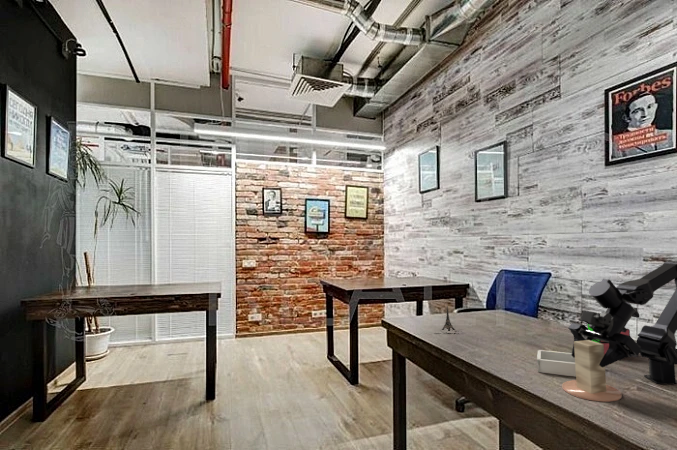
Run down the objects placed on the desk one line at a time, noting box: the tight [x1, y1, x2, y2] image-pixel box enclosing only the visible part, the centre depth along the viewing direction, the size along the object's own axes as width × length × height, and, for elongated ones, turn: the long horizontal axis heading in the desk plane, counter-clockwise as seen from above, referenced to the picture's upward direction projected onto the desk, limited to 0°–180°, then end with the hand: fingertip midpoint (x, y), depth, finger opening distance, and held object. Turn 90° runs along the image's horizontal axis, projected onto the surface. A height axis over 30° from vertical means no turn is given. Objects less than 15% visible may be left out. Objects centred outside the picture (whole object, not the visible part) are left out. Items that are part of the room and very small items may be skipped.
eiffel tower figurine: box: [441, 305, 456, 331], centre depth 182 cm, size 15×10×13 cm
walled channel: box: [536, 349, 576, 378], centre depth 126 cm, size 15×12×4 cm
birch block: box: [573, 340, 607, 394], centre depth 108 cm, size 5×5×13 cm
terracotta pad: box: [561, 379, 623, 403], centre depth 108 cm, size 14×14×1 cm
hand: (586, 361), depth 108 cm, fingers open, 9 cm apart
